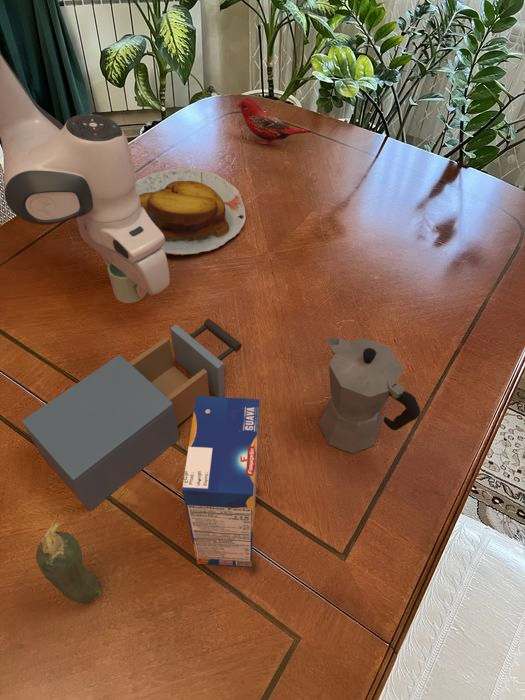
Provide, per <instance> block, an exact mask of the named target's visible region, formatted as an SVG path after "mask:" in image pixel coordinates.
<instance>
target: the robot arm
mask: <svg viewBox="0 0 525 700" xmlns="http://www.w3.org/2000/svg"><path fill="white" fill-rule="evenodd" d="M0 143H1V150H2V155H3V156H2V158H3V187H4V199H5V202H6V204H7V206H8V208H9V209H10V210H11V211H12V213H13V214H15V215H16V216H17V217H18V218H20V219H21V220H23V221H26V222H28V223H30V224H34V225H40V226H49V225H50V226H51V225H54V224H59V223H64V222H68V221H70V220H74V219H76V223H77V227H78V232H79V235H80V236H81V239H82V240H83V242H84V243H86V244H87V245H88V246H89V247H91V248H92V249H93V250H94V251H95V252H97V253H98V254H99V255H100V256H101V258H102V259H103V261H104V263H105V264H106V265H107V266H108V264H109V263H111V264H113V265H114V266H115V267H116V268H118V269H119V270H120V271H121V272H122V273H124V274H125V275H126V276H127V277H129V278H130V279H131V280H132V281H133V282H135V283H136V285H135V286H133V288H134V292H135V293H136V294H137V295H138V296H139V297H142V296H144V295H145V294H146V295H147V294H148V295H149V296H151V297H153V296H156V295H157V294H159V293H161V292H163V291H164V290H166V288H168V287H169V285H170V282H171V280H170V279H171V278H170V277H171V276H170V269H169V262H168V259H167V254H165V252H164V250H163V248H162V247H161V246H163V245H164V244H165V237H164V235H163V233H162V232H161V231H160V230H159V229H158V227H157V226H156V225H155V224H154V223H153V222H152V220H151V219H150V218H149V216H148V215H147V213H146V211H145V209H144V208H143V207H141V202H140V197H139V194H138V192H137V191H136V188H135V182H136V180H137V174H136V168H135V163H134V159H133V155H132V151H131V147H130V144H129V141H128V138H127V136H126V134H125V132H124V130H123V129H122V128H121V127H120V126H119V124H118V123H116V122H115V121H114V120H112V119H111V118H108V117H107V116H103V115H100V114H93V113H82V114H77V115H75V116H72V117H70V118H69V119H68V120H67V121H66V123H65V124H64V125H63V124H62V122H60V121H59V120H58V119H57V118H55V117H54V116H52V115H51V114H50V113H49V112H47V111H46V110H45V109H44V108H42V107H41V106H40V105H39V104H38V103H36V101H35V100H34V99H33V97H32V96H31V95H30V94H29V92H28V91H27V89H26V88H25V87H24V85H23V83H22V82H21V81H20V79H19V77H18V76H17V75H16V73H15V72H14V70H13V69H12V67H11V66H10V64H9V63H8V62H7V60H6V59H5V57H4V56H3V54H2V53H1V52H0ZM146 295H145V296H146ZM145 296H144V297H145Z"/></svg>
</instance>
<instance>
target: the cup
mask: <svg viewBox="0 0 525 700" xmlns="http://www.w3.org/2000/svg"><path fill="white" fill-rule="evenodd" d="M106 270H107V273H108V277H109V281H110V285H111V289H112V293H113V295H114V297H115V300H117V301H118V302H120V303H123V304H133V303H137V302H140V301H141V300H143V299H144V298H145V297H146V295H147V294H145V295H144V296H142V297H139V296H138V295H137V294H136V293H135V292H134V288H133V286H135V285H136V283H135V282H133V281H132V280H131V279H130V278H129V277H127V276H126V275H125V274H124V273H122V272H121V271H120V270H119V269H118V268H116V267H115V266H114V265H113V264H111V263H109V264H108V265H107V269H106Z"/></svg>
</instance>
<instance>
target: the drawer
mask: <svg viewBox="0 0 525 700" xmlns="http://www.w3.org/2000/svg"><path fill="white" fill-rule="evenodd" d="M169 330H170V336H171V337H170V338H171V340H170V338H169V337H168V336H165V337H163V338H162V339H160V340H158V342H156V343H155V344H153V345H152V346H150V347H149V348H147V349H145V351H143V352H142V353H140V354H139V355H137V356H136V357H135V358H133V359H132V360H130V361H128V362H129V363H130V364H131V365H132V366H133V367H134V368H135V369H136V370H138V371H139V372H140V373H141V374H142V375H143V376H144V377H145V378H146V379H147V380H148V381H149V382H151V383H152V384H153V385H154V386H155V387H156V388H157V389H158V390H159V391H160V392H161V393H162V394H164V395H165V396H166V397H167V398H168V399H169V400H170V401H171V402H172V403H173V406H174V411H175V417H176V422H177V427H178V426H179V425H180V424H182V423H183V422H185V420H187V419H188V418H189V417H190V416H193V413H194V407H195V400H196V396H210V392H211V393H212V394H214V395H215V397H224V396H225V395H226V383H225V382H226V381H225V366H224V365H225V364H224V363H223V362H222V361H223V360H224V359H226V358H227V357H228V356H229V355H231V354H232V353H233V352H235V353H238V352H239V351H240V350H241V349H242V346H243V345H242V342H240V341H238V340H237V339H236V338H234V336H232V335H231V334H230V333H228V332H227V331H226V330H225V329H223V328H222V327H221V326H220V325H218V324H217V323H216V322H214V321H213V320H212V319H211V318H207V319H205V320H204V322H203V325H202V326H200V327H199V328H198V329H196V330H195V331H193V332H192V333H190V334H188V332H187V331H185V330H184V329H183V328H181V327H180V326H179V325H178V324H174V325H173V326H171V327H170V328H169ZM206 330H207V331H208V332H210V333H211V334H213V335H214V336H215V337H216V338H217V339H219V341H221V342H222V343H223V344H225V345H226V346H227V347H229V348H227V349H226V350H225V351H223V352H222V353H221V354H219V355H218V356H215V355H214V354H213V353H212V352H210V351H209V350H208V349H207V348H206V347H204V346H203V345H202V344H201V343H199V342H198V341H197V340H196V338H197V337H198V336H199V335H201V334H203V333H204V332H205V331H206ZM171 342H172V344H171ZM172 349H173V351H172ZM173 355H174V359H173ZM174 361H176V362H177V364H179V365H180V366H181V367H183V368H184V369H185V370H186V371H187V372H188V373H190V375H192V376H191V378H188V377H187V376H186V375H185V374H184V373H183V372H182V371H180V370H179V369H178V368H177V367H176V366H175V364H174Z"/></svg>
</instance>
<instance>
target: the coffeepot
mask: <svg viewBox="0 0 525 700" xmlns="http://www.w3.org/2000/svg"><path fill="white" fill-rule="evenodd" d="M325 343H326V345H327V347H328V348H329V349H330V350H331V353H332V355H333V357H332V359H331V360H330V362H329V365H328V366H329V387H330V389H329V390H330V396H331V397H330V398H329V401H328V402H327V404H326V406H325V409H324V411H323V413H322V415H321V418H320V419H319V422H318V427H319V429H320V430H321V433H322V436H323V437H324V439H325V440H326V442H327V444H328V445H330V446H331V447H333V448H335V447H336V449H337V448H338V449H337V450H339V449H340V451H342V450H343V451H342V452H346V451H347V453H350V454H355V453H358V451H359V452H363V451H365V450H367V449H369V448H372V447H374V446H375V444H376V441H377V438H378V435H379V433H380V430H381V428H382V412H383V411H382V408H383V407H384V406H385V404H386V402H387V401H388V400H389V398H390V397H391V398H392V399H394V401H397V402H398V403H400V404H402V405H403V406H404V410H403V411H402V412H401V414H398V415H397V416H395V417H394V419H393V420H392V419H390V418H388V417H387V416H385V417H384V418H383V423H384V424H385V425H386V426H387V427H388V428H389V429H390V430H392V431H398V430H399V429H402V428H403V427H405V426H407V425H408V424H410V423H411V422H413V421H415V420H416V419H418V417H420V414H421V408H420V406H419V403H418V400H417V399H416V397H415V396H414V395H413V394H411V393H409V392H408V391H406V388H405V386H404V385H402V384H400V383H399V379H400V377H401V374H402V371H403V365H402V364H401V362H400V361H399V360H398V358H397V356H396V354H395V353H394V352H393V350H392V349H391V347H390V346H388V345H384V344H382V343H379V342H377V341H373V340H370V339H369V338H364V337H362V338H359V339H355V340H352V341H349V340H346V339H344V338H341V337H337V336H332V337H329V338H328V339H326V341H325ZM364 449H365V450H364ZM362 450H363V451H362Z"/></svg>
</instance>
